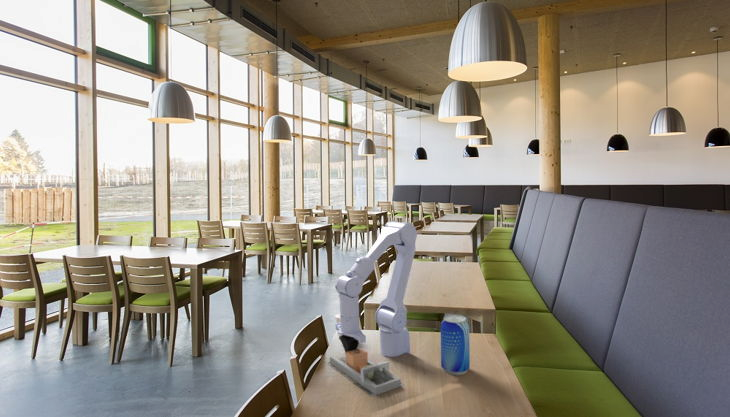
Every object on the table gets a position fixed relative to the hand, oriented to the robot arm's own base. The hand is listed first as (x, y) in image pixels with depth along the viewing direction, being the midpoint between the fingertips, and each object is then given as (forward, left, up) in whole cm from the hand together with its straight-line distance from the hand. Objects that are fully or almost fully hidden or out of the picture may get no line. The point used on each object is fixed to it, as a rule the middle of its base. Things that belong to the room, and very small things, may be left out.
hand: (350, 358), depth 134 cm
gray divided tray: (0, +6, -3) cm, 7 cm away
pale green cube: (0, +10, -2) cm, 10 cm away
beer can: (-25, +19, -4) cm, 32 cm away
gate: (0, +13, -3) cm, 13 cm away
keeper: (0, +5, -2) cm, 5 cm away
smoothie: (-10, -21, -4) cm, 23 cm away
